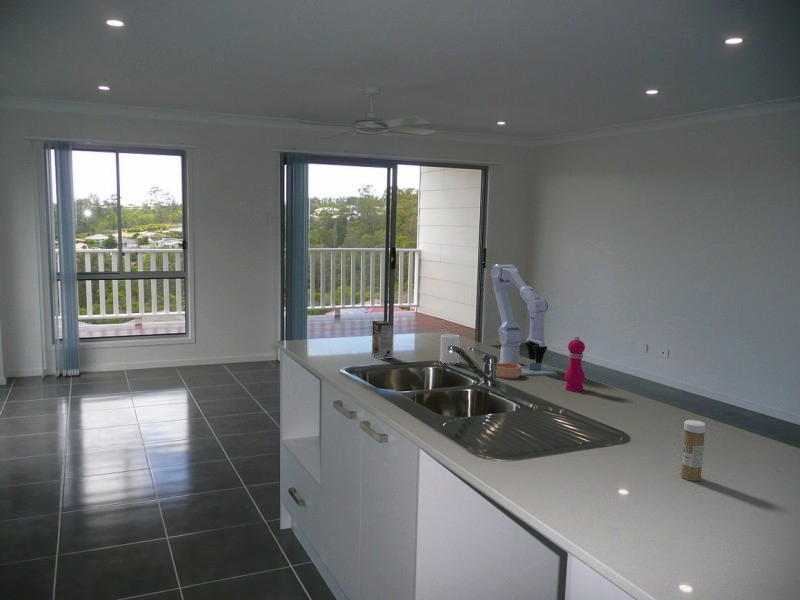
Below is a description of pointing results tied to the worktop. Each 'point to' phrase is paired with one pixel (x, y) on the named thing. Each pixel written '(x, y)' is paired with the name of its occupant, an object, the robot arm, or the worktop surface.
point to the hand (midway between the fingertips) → (535, 361)
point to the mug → (444, 353)
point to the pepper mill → (575, 366)
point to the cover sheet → (537, 370)
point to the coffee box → (382, 339)
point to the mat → (541, 375)
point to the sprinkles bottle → (693, 450)
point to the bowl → (508, 370)
